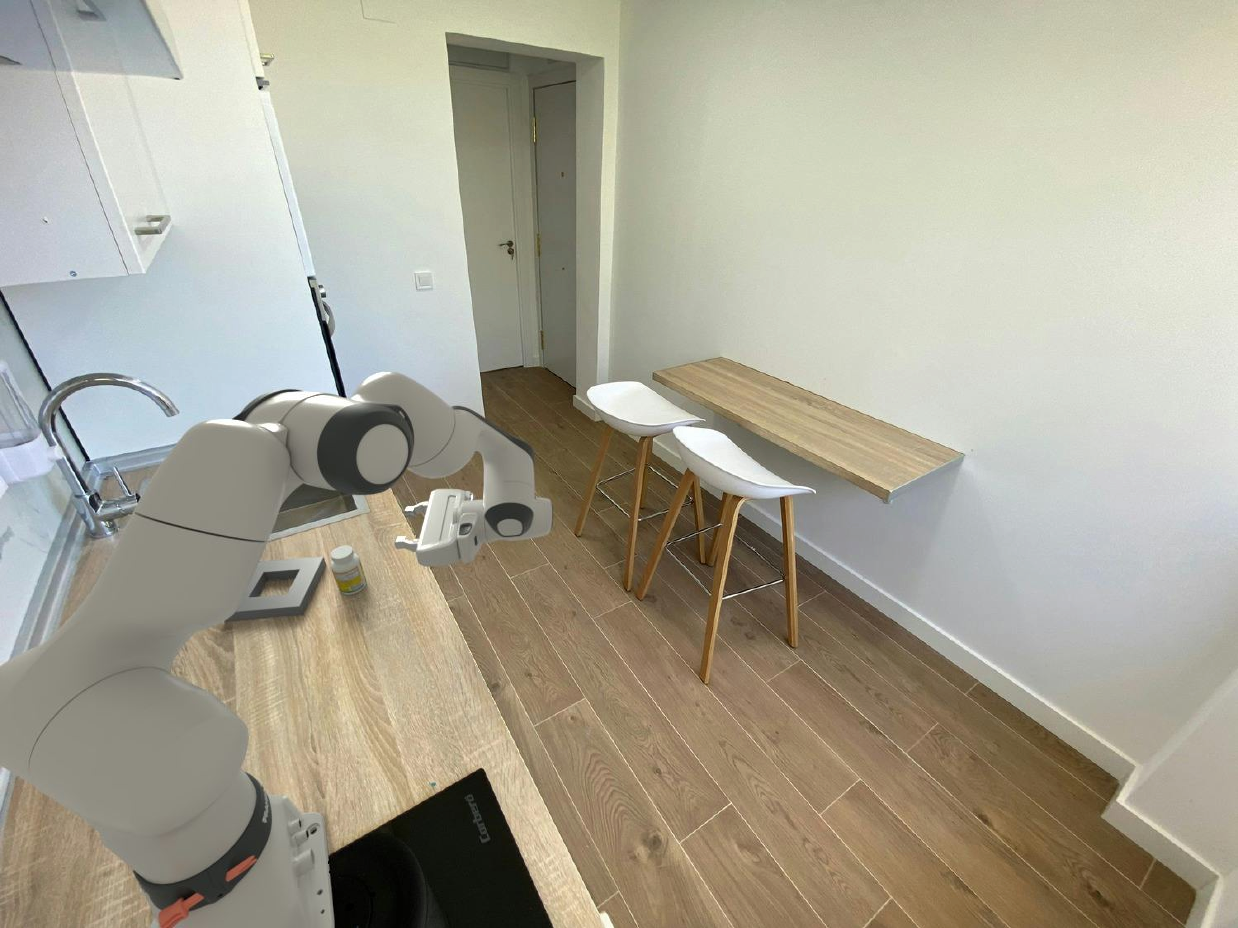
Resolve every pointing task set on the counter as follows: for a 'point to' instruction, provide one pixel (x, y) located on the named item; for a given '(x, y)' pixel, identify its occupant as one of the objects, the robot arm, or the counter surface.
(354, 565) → the supplement bottle
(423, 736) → the counter surface
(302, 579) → the frame
